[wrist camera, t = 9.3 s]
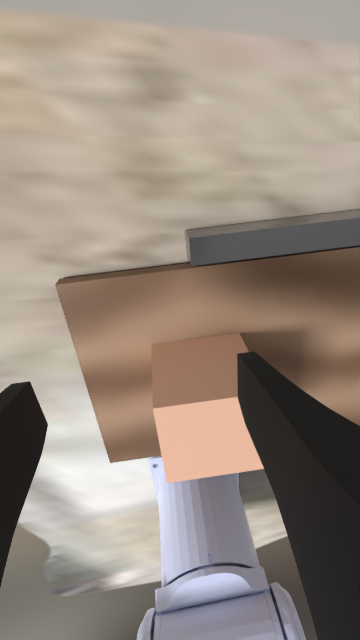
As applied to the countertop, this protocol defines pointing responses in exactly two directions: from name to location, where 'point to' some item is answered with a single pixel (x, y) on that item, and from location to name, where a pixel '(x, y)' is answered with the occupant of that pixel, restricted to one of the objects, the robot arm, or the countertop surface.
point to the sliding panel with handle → (215, 330)
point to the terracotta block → (200, 408)
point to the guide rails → (273, 237)
